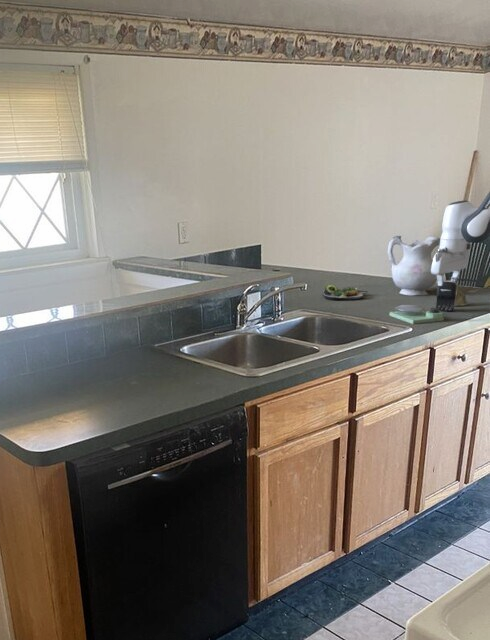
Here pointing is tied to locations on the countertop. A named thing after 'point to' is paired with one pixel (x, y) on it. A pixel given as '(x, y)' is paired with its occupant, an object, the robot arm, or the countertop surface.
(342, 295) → the salad plate
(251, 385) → the countertop surface
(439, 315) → the scale
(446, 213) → the robot arm
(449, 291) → the battery charger
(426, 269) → the ceramic pitcher
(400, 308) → the scale pan
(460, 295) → the rock
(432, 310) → the tare button
